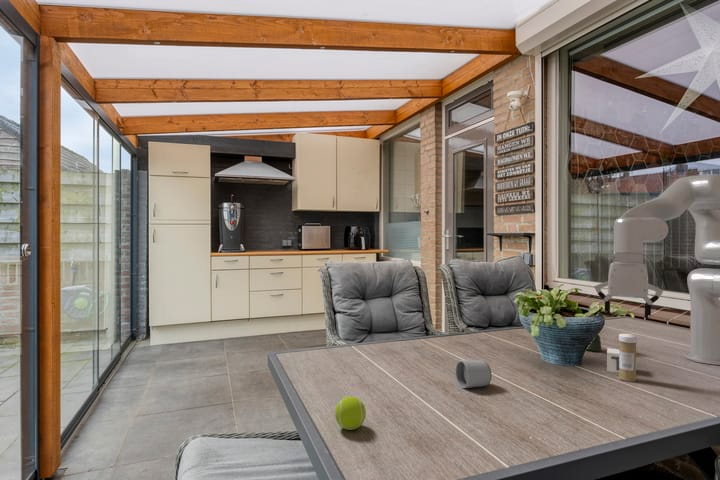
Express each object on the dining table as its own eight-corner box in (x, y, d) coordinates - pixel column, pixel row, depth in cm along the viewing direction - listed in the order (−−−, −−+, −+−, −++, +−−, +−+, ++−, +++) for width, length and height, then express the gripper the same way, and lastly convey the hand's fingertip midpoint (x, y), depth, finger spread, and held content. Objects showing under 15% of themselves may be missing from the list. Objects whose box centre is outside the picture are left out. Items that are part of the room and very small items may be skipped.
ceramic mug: (493, 389, 121) (493, 362, 121) (467, 392, 119) (467, 364, 119) (474, 377, 131) (473, 352, 131) (450, 380, 129) (449, 354, 129)
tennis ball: (335, 436, 94) (334, 404, 94) (335, 421, 101) (335, 392, 101) (366, 435, 94) (366, 403, 94) (364, 421, 101) (364, 391, 101)
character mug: (592, 346, 166) (592, 312, 166) (610, 350, 160) (610, 315, 160) (573, 349, 162) (573, 315, 161) (590, 354, 155) (590, 318, 155)
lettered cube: (607, 366, 142) (607, 348, 142) (628, 369, 139) (628, 350, 139) (606, 371, 136) (607, 352, 136) (629, 374, 133) (629, 355, 133)
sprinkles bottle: (639, 380, 128) (639, 335, 128) (632, 383, 126) (632, 337, 125) (623, 375, 132) (623, 332, 132) (615, 378, 129) (615, 334, 129)
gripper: (594, 258, 129) (593, 314, 129) (664, 260, 120) (663, 321, 121) (595, 257, 136) (594, 311, 136) (662, 259, 127) (661, 317, 127)
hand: (627, 315), depth 128 cm, fingers open, 9 cm apart
